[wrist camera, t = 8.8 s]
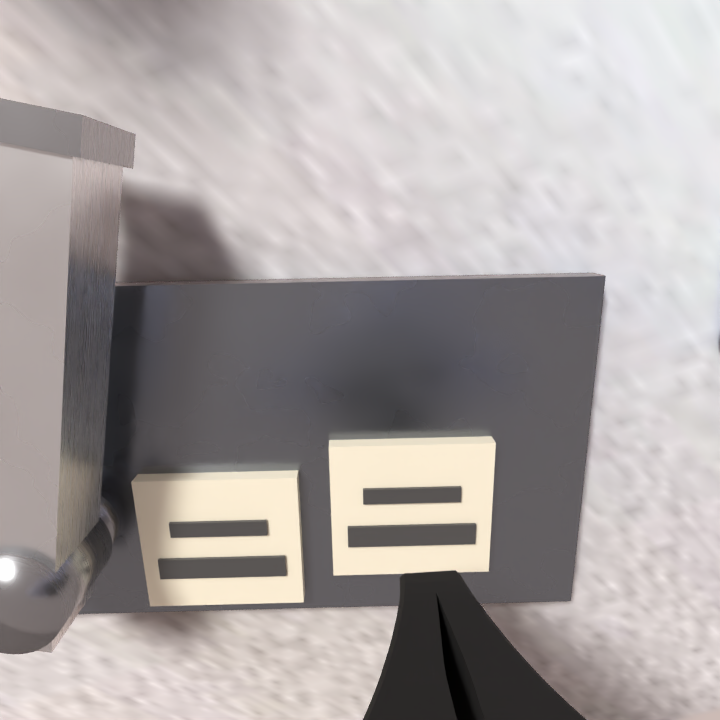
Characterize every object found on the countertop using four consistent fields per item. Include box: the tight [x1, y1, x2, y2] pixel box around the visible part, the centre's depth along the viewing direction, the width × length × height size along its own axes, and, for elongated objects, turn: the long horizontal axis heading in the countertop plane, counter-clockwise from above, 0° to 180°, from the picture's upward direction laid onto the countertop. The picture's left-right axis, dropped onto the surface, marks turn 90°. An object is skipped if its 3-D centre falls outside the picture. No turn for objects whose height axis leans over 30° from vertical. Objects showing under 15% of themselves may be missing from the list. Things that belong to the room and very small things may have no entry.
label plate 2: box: [329, 436, 496, 576], centre depth 16 cm, size 5×4×1 cm
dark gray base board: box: [78, 273, 605, 614], centre depth 16 cm, size 18×11×1 cm, turn 91°
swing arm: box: [0, 98, 135, 654], centre depth 13 cm, size 13×3×3 cm, turn 169°
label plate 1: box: [131, 470, 305, 606], centre depth 17 cm, size 5×4×1 cm
